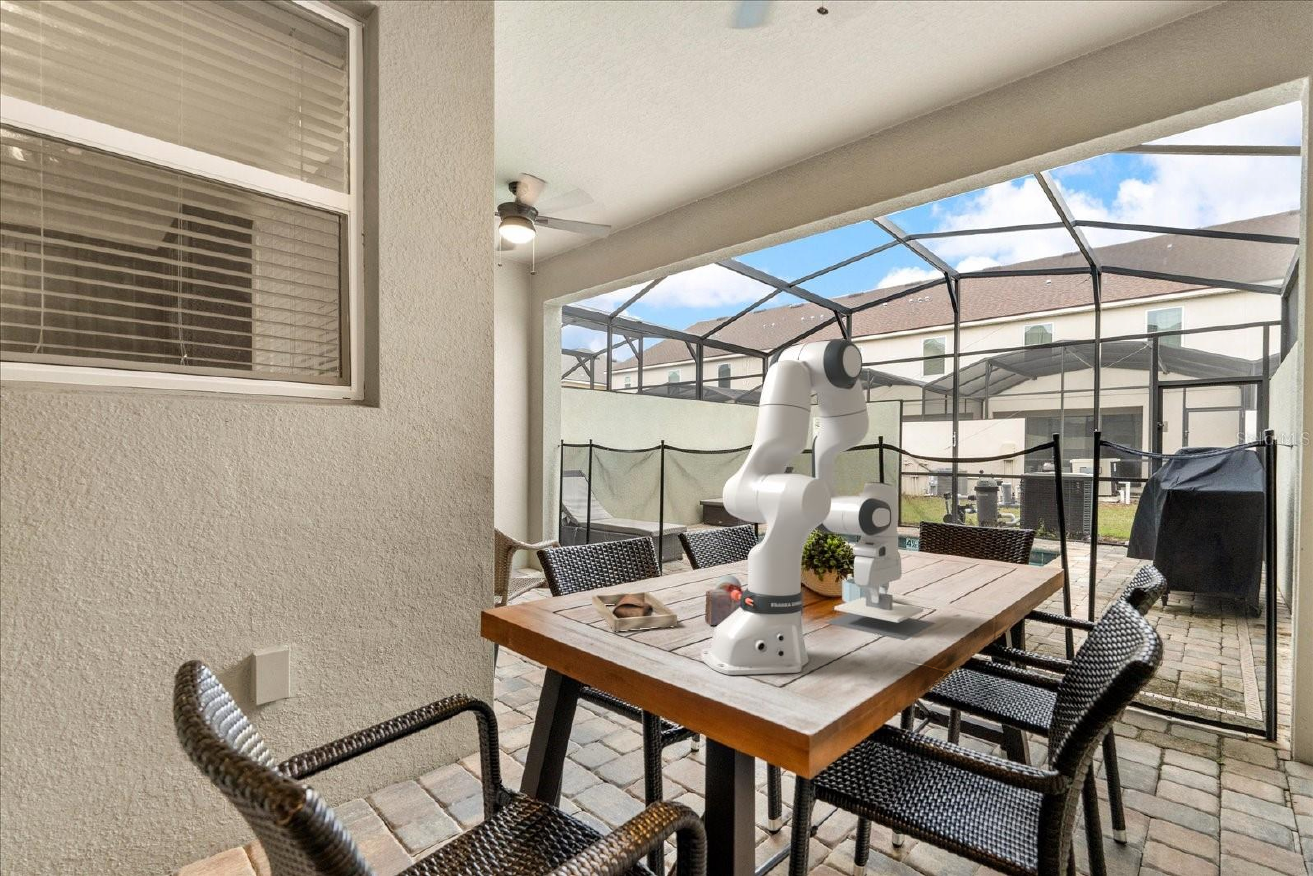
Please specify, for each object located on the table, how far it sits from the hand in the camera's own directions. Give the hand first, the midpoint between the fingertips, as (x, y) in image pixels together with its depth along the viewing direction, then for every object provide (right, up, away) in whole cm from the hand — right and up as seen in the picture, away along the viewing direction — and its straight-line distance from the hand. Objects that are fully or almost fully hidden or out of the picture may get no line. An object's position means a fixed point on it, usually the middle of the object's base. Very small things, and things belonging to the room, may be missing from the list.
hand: (879, 601), depth 151 cm
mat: (0, -6, 0) cm, 6 cm away
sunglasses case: (-63, -6, +7) cm, 63 cm away
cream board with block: (0, -2, 0) cm, 2 cm away
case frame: (-63, -6, +7) cm, 63 cm away
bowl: (+4, -7, +24) cm, 25 cm away
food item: (-37, -6, +1) cm, 37 cm away
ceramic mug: (-34, -7, +21) cm, 41 cm away
